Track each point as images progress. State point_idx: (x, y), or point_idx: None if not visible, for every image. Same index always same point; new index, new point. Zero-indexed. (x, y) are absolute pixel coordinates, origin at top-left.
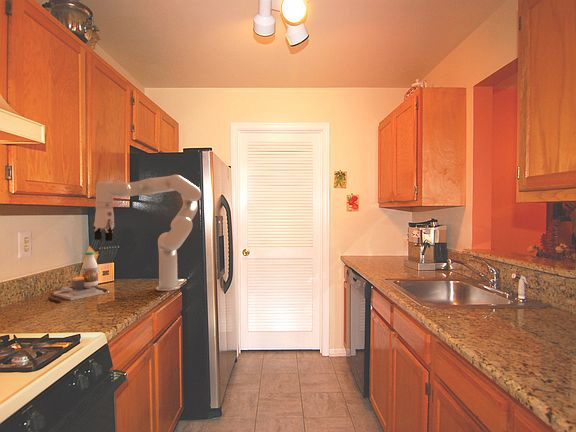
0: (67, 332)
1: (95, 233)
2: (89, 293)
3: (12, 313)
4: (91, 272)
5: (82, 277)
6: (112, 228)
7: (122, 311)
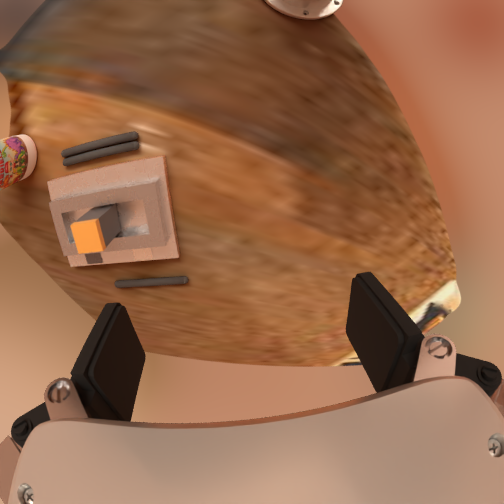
0: (411, 313)
1: (129, 410)
2: (165, 202)
3: (207, 352)
4: (6, 167)
5: (88, 225)
6: (491, 381)
7: (410, 212)
